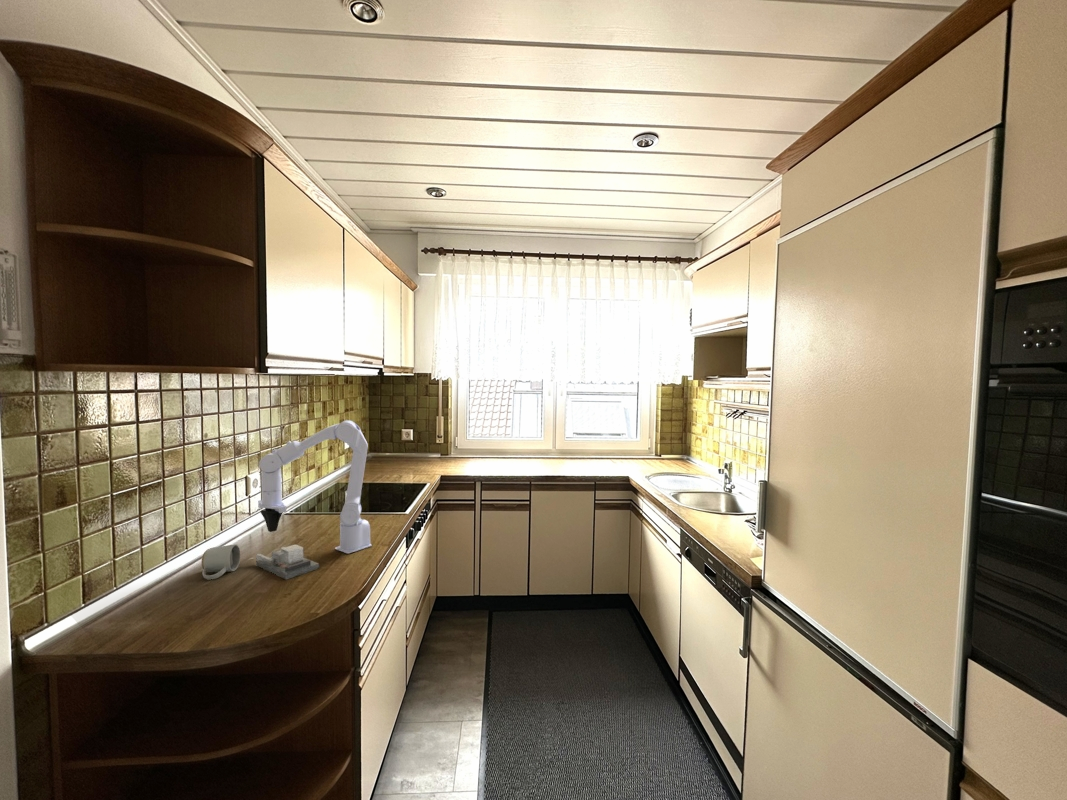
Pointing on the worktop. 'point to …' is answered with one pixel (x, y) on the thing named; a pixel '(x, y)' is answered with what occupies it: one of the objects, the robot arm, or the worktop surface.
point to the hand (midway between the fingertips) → (272, 530)
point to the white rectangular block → (291, 555)
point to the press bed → (289, 570)
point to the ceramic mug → (220, 560)
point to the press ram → (277, 557)
